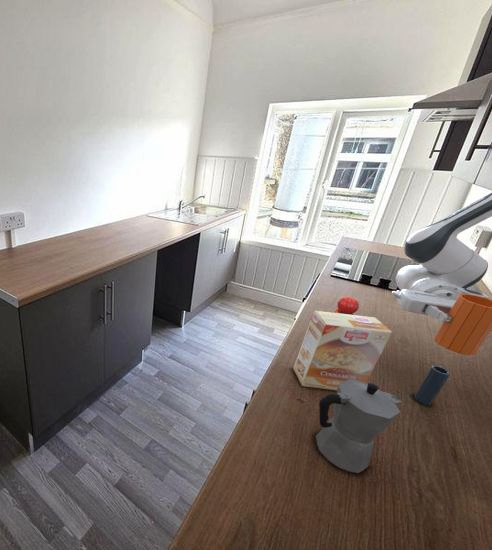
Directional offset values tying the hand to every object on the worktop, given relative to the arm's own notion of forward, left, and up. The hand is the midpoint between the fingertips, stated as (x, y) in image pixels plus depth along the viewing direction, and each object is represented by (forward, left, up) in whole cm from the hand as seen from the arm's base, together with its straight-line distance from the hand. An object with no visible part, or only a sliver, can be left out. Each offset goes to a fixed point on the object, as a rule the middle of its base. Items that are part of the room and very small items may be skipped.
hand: (471, 324), depth 66 cm
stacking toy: (+22, +7, -24) cm, 33 cm away
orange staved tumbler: (+1, 0, -6) cm, 7 cm away
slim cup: (0, 0, -23) cm, 23 cm away
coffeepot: (-8, +35, -24) cm, 43 cm away
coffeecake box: (+10, +20, -24) cm, 33 cm away
